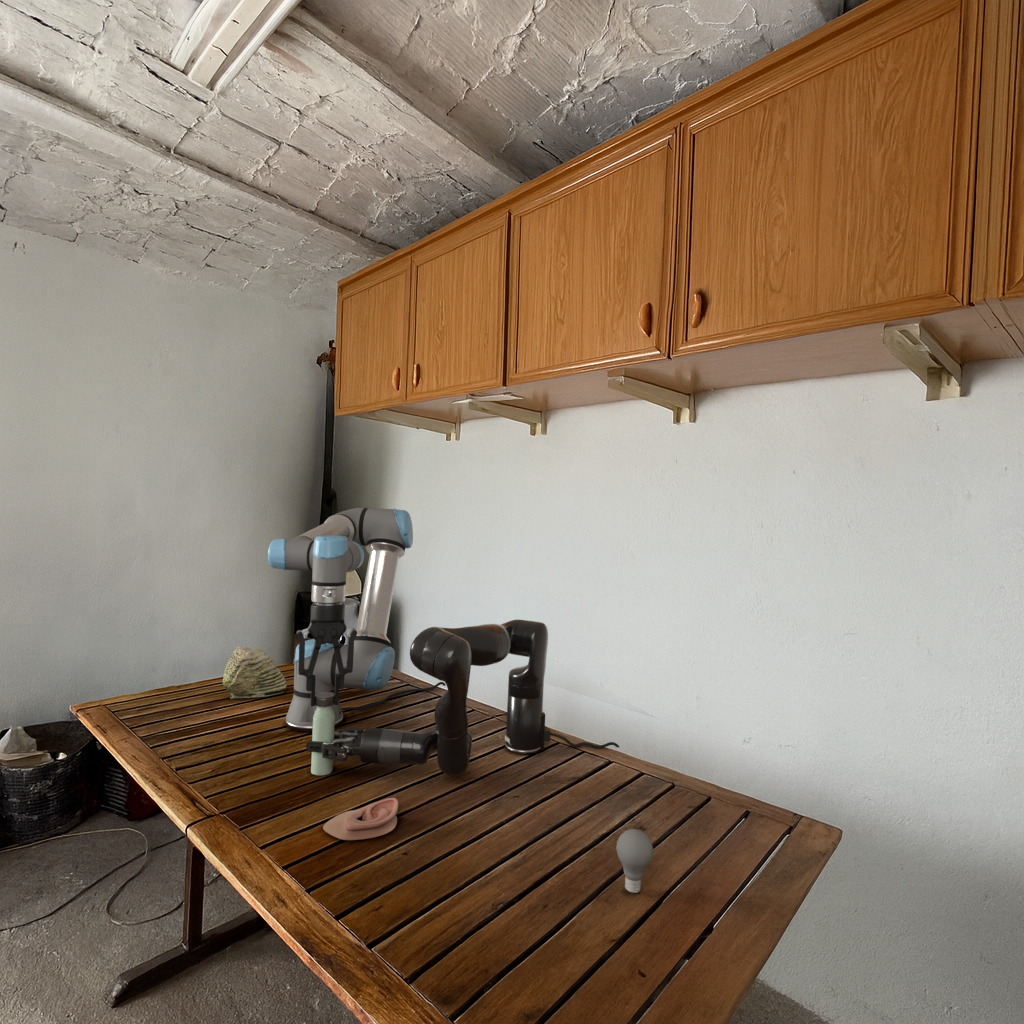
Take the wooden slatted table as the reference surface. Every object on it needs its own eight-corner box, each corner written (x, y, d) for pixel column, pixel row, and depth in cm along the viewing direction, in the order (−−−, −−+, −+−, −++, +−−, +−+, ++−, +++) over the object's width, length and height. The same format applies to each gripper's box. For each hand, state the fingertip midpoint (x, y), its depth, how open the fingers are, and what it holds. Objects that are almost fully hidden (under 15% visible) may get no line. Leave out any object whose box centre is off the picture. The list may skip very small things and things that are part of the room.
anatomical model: (315, 814, 118) (343, 787, 129) (314, 835, 118) (343, 807, 129) (382, 825, 115) (405, 796, 127) (381, 846, 116) (404, 816, 127)
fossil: (218, 695, 195) (220, 647, 195) (278, 685, 208) (279, 640, 207) (228, 703, 189) (230, 653, 188) (289, 692, 201) (290, 645, 201)
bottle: (306, 773, 145) (309, 698, 144) (320, 765, 149) (322, 693, 149) (323, 777, 143) (326, 702, 143) (336, 769, 148) (339, 696, 147)
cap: (327, 699, 149) (327, 690, 149) (339, 703, 146) (339, 694, 146) (309, 703, 146) (310, 694, 146) (321, 708, 143) (321, 699, 143)
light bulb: (610, 879, 108) (613, 822, 108) (644, 879, 109) (647, 822, 109) (619, 902, 102) (622, 840, 102) (655, 901, 103) (658, 840, 103)
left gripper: (287, 606, 139) (283, 711, 139) (369, 605, 145) (365, 706, 145) (287, 600, 146) (283, 701, 146) (365, 599, 152) (361, 696, 152)
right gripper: (392, 719, 152) (322, 714, 153) (376, 741, 138) (299, 736, 139) (391, 750, 152) (321, 745, 153) (375, 776, 138) (298, 770, 139)
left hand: (324, 703), depth 146 cm, fingers closed on cap, 5 cm apart
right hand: (311, 741), depth 146 cm, fingers closed on bottle, 4 cm apart
